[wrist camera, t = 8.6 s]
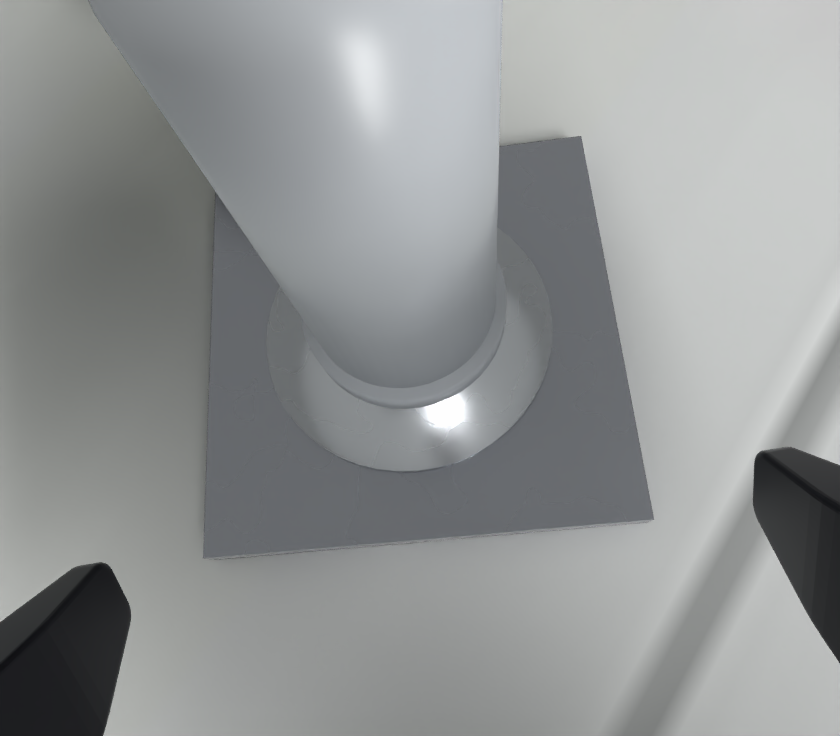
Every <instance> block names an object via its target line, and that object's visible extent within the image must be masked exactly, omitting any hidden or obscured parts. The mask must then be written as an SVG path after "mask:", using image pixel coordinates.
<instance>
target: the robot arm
mask: <svg viewBox="0 0 840 736" xmlns="http://www.w3.org/2000/svg"><path fill="white" fill-rule="evenodd" d="M753 506H754V511H755V514H756V517H757V519H758V522H759V523H760V525H761V527H762V529H763V531H764V533H765V535H766V537H767V539H768V540H769V542H770V544H771V546H772V548H773V550H774V552H775V554H776V556H777V557H778V559H779V561H780V563H781V565H782V567H783V569H784V571H785V573H786V575H787V576H788V578H789V580H790V582H791V584H792V586H793V588H794V590H795V592H796V593H797V595H798V597H799V599H800V601H801V603H802V605H803V606H804V608H805V610H806V612H807V614H808V615H809V617H810V619H811V621H812V622H813V624H814V625H815V627H816V628H817V630H818V631H819V633H820V635H821V636H822V638H823V639H824V641H825V642H826V644H827V645H828V647H829V648H830V649H831V651H832V652H833V654H834V655H835V657H836V658H837V660H838V661H839V663H840V465H837V464H835V463H832V462H830V461H827V460H824V459H822V458H819V457H816V456H814V455H811V454H808V453H806V452H803V451H801V450H798V449H795V448H792V447H782V448H776V449H770V450H764V451H761V452H759V453H758V454H757V455H756V458H755V463H754V487H753ZM130 622H131V610H130V606H129V603H128V601H127V599H126V597H125V595H124V593H123V591H122V589H121V587H120V585H119V583H118V581H117V579H116V577H115V575H114V573H113V571H112V569H111V568H110V566H108V565H107V564H106V563H102V562H99V563H93V564H87V565H81V566H77V567H75V568H73V569H71V570H70V571H68V572H67V573H66V574H64V575H63V576H62V577H60V578H59V579H58V580H56V581H55V582H54V583H52V584H51V585H50V586H48V587H47V588H46V589H44V590H43V591H41V592H40V593H39V594H37V595H36V596H35V597H33V598H32V599H31V600H29V601H28V602H27V603H25V604H24V605H23V606H21V607H20V608H19V609H17V610H16V611H15V612H13V613H12V614H11V615H9V616H8V617H7V618H5V619H4V620H3V621H1V622H0V736H103V734H104V731H105V727H106V724H107V720H108V716H109V712H110V708H111V704H112V700H113V696H114V691H115V687H116V683H117V678H118V674H119V670H120V665H121V661H122V657H123V653H124V648H125V644H126V640H127V635H128V631H129V627H130Z"/></svg>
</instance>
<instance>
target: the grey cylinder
mask: <svg viewBox="0 0 840 736" xmlns="http://www.w3.org/2000/svg"><path fill="white" fill-rule="evenodd" d="M88 1H89V3H90V5H91V7H92V9H93V12H94V14H95V16H96V17H97V19H98V20H99V22H100V23H101V25H102V26H103V28H104V29H105V31H106V32H107V33H108V35H109V36H110V38H111V39H112V41H113V42H114V44H115V45H116V47H117V48H118V50H119V51H120V52H121V54H122V55H123V57H124V58H125V60H126V61H127V63H128V64H129V66H130V67H131V69H132V70H133V72H134V73H135V74H136V76H137V77H138V79H139V80H140V82H141V83H142V85H143V86H144V88H145V89H146V91H147V92H148V93H149V95H150V96H151V98H152V99H153V101H154V102H155V104H156V105H157V107H158V108H159V110H160V111H161V113H162V114H163V115H164V117H165V118H166V120H167V121H168V123H169V124H170V126H171V127H172V129H173V130H174V132H175V133H176V134H177V136H178V137H179V139H180V140H181V142H182V143H183V145H184V146H185V148H186V149H187V151H188V152H189V154H190V155H191V156H192V158H193V159H194V161H195V162H196V164H197V165H198V167H199V168H200V170H201V171H202V173H203V174H204V175H205V177H206V178H207V180H208V181H209V183H210V184H211V186H212V187H213V189H214V190H215V192H216V193H217V195H218V196H219V197H220V199H221V200H222V202H223V203H224V205H225V206H226V208H227V209H228V211H229V212H230V214H231V215H232V216H233V218H234V219H235V221H236V222H237V224H238V225H239V227H240V228H241V230H242V231H243V233H244V234H245V236H246V237H247V238H248V240H249V241H250V243H251V244H252V246H253V247H254V249H255V250H256V252H257V253H258V255H259V256H260V257H261V259H262V260H263V262H264V263H265V265H266V266H267V268H268V269H269V271H270V272H271V274H272V275H273V277H274V278H275V279H276V281H277V282H278V284H279V285H280V287H281V288H282V290H283V291H284V293H285V294H286V296H287V297H288V298H289V300H290V301H291V303H292V304H293V306H294V307H295V309H296V310H297V312H298V313H299V315H300V316H301V321H302V327H303V331H304V334H305V337H306V341H307V343H308V345H309V347H310V349H311V351H312V353H313V354H314V356H315V357H316V359H317V360H318V362H319V363H320V364H321V366H322V367H323V368H324V370H325V371H326V373H327V374H328V375H329V376H330V377H331V378H332V379H333V380H334V382H335V383H336V384H337V385H339V386H340V387H341V388H342V389H344V390H345V391H346V392H348V393H349V394H351V395H353V396H354V397H356V398H358V399H360V400H363V401H365V402H367V403H370V404H374V405H377V406H381V407H387V408H394V409H411V408H420V407H425V406H429V405H433V404H436V403H439V402H442V401H444V400H447V399H449V398H451V397H453V396H454V395H456V394H458V393H460V392H461V391H463V390H464V389H466V388H467V387H468V386H470V385H471V384H472V383H473V382H474V381H475V380H476V379H477V378H479V377H480V376H481V374H482V373H483V372H484V371H485V370H486V368H487V367H488V366H489V364H490V363H491V361H492V359H493V358H494V356H495V355H496V352H497V350H498V348H499V346H500V343H501V340H502V337H503V333H504V328H505V321H506V306H507V292H506V285H505V279H504V276H503V273H502V269H501V267H500V265H499V263H498V260H497V220H498V176H499V132H500V89H501V45H502V2H503V0H88Z"/></svg>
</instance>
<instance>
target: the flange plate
mask: <svg viewBox="0 0 840 736" xmlns="http://www.w3.org/2000/svg"><path fill="white" fill-rule="evenodd" d="M497 260H498V263H499V265H500V267H501V269H502V273H503V276H504V279H505V285H506V292H507V306H506V321H505V328H504V333H503V337H502V340H501V343H500V346H499V348H498V350H497V352H496V355H495V356H494V358H493V359H492V361H491V363H490V364H489V366H488V367H487V368H486V370H485V371H484V372H483V373H482V374H481V376H480V377H479V378H477V379H476V380H475V381H474V382H473V383H472V384H471V385H470V386H468V387H467V388H466V389H464V390H463V391H461V392H460V393H458V394H456V395H454V396H453V397H451V398H449V399H447V400H444V401H442V402H439V403H436V404H433V405H429V406H425V407H420V408H411V409H394V408H387V407H381V406H377V405H374V404H370V403H367V402H365V401H363V400H360V399H358V398H356V397H354V396H353V395H351V394H349V393H348V392H346V391H345V390H344V389H342V388H341V387H340V386H339V385H337V384H336V383H335V382H334V380H333V379H332V378H331V377H330V376H329V375H328V374H327V373H326V371H325V370H324V368H323V367H322V366H321V364H320V363H319V362H318V360H317V359H316V357H315V356H314V354H313V353H312V351H311V349H310V347H309V345H308V343H307V341H306V337H305V334H304V331H303V327H302V321H301V316H300V315H299V313H298V312H297V310H296V309H295V307H294V306H293V304H292V303H291V301H290V300H289V298H288V297H287V296H286V294H285V293H284V291H283V290H282V288H281V287H280V285H279V284H278V282H277V281H276V279H275V278H274V277H273V275H272V274H271V272H270V271H269V269H268V268H267V266H266V265H265V263H264V262H263V260H262V259H261V257H260V256H259V255H258V253H257V252H256V250H255V249H254V247H253V246H252V244H251V243H250V241H249V240H248V238H247V237H246V236H245V234H244V233H243V231H242V230H241V228H240V227H239V225H238V224H237V222H236V221H235V219H234V218H233V216H232V215H231V214H230V212H229V211H228V209H227V208H226V206H225V205H224V203H223V202H222V200H221V199H220V197H219V196H218V195H217V193H216V192H215V222H214V252H213V282H212V312H211V342H210V372H209V402H208V432H207V462H206V492H205V522H204V552H203V558H205V559H214V560H217V559H229V558H240V557H252V556H263V555H275V554H287V553H298V552H310V551H321V550H333V549H345V548H356V547H368V546H380V545H391V544H403V543H414V542H426V541H438V540H449V539H461V538H472V537H484V536H496V535H507V534H519V533H531V532H542V531H554V530H565V529H577V528H589V527H600V526H612V525H623V524H635V523H647V522H649V521H651V520H654V517H653V512H652V506H651V501H650V496H649V491H648V485H647V480H646V475H645V470H644V464H643V459H642V454H641V449H640V443H639V438H638V433H637V428H636V422H635V417H634V412H633V407H632V401H631V396H630V391H629V386H628V380H627V375H626V370H625V365H624V359H623V354H622V349H621V344H620V338H619V333H618V328H617V323H616V317H615V312H614V307H613V302H612V296H611V291H610V286H609V280H608V275H607V270H606V265H605V259H604V254H603V249H602V244H601V238H600V233H599V228H598V223H597V217H596V212H595V207H594V202H593V196H592V191H591V186H590V181H589V175H588V170H587V165H586V160H585V154H584V149H583V144H582V139H581V136H577V137H569V138H562V139H554V140H546V141H538V142H531V143H523V144H515V145H507V146H500V147H499V176H498V220H497Z"/></svg>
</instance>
